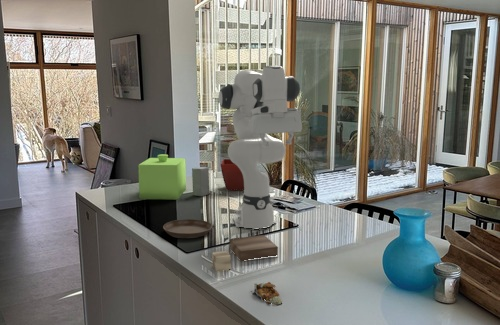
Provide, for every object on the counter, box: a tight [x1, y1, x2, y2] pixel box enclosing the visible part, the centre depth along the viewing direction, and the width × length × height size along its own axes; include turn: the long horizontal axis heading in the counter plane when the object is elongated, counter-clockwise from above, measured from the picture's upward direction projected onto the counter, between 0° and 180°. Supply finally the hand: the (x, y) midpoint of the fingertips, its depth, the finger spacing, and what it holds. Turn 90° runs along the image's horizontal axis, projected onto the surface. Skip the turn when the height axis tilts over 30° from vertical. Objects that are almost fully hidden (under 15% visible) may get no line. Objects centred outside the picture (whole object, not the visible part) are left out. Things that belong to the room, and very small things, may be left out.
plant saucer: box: [162, 218, 213, 239], centre depth 192 cm, size 21×21×3 cm
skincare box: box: [191, 166, 210, 197], centre depth 260 cm, size 8×7×16 cm
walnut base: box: [229, 234, 279, 262], centre depth 168 cm, size 14×14×4 cm
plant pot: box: [220, 158, 244, 191], centre depth 276 cm, size 19×19×17 cm
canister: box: [137, 153, 187, 201], centre depth 260 cm, size 25×21×23 cm
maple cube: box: [211, 250, 232, 273], centre depth 154 cm, size 5×5×5 cm
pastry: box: [253, 281, 282, 306], centre depth 133 cm, size 7×12×4 cm, turn 33°
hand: (277, 145), depth 171 cm, fingers open, 8 cm apart
